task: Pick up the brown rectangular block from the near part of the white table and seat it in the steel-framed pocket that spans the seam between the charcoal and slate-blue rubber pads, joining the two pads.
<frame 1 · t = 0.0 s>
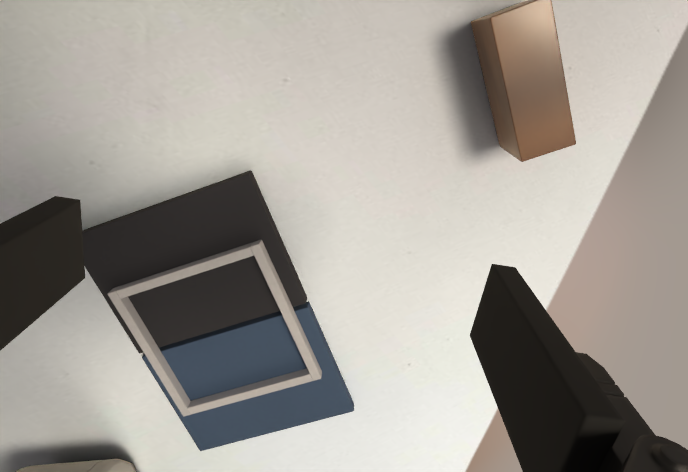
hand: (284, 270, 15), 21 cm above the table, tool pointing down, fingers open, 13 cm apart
brown rectangular block: (510, 78, 33), on the table
back pads: (224, 324, 41), on the table
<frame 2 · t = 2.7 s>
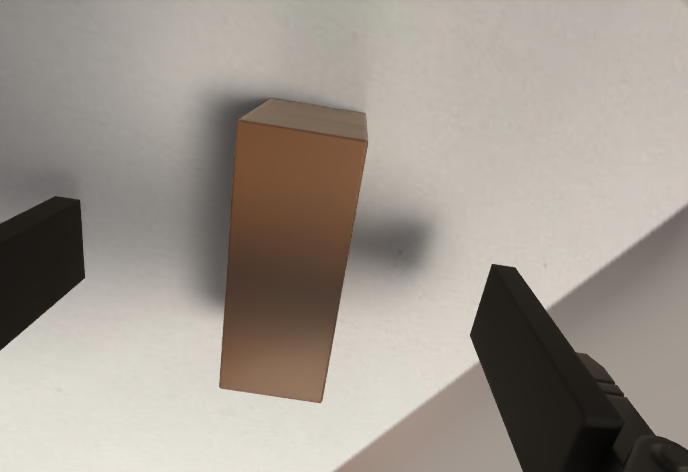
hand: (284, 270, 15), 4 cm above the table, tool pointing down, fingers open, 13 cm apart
brown rectangular block: (303, 220, 19), on the table
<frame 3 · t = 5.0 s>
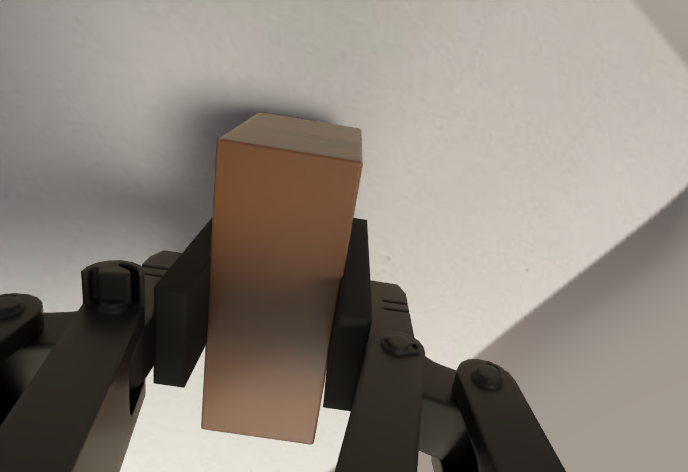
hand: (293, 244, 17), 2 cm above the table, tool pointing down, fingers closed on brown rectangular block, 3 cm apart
brown rectangular block: (294, 242, 17), point 2 cm above the table, touching gripper
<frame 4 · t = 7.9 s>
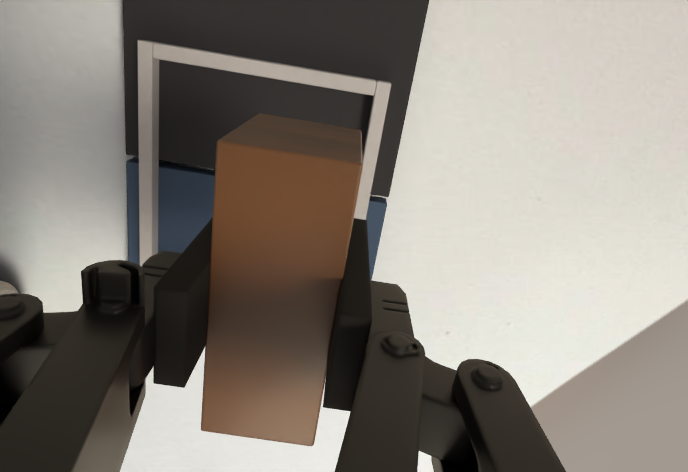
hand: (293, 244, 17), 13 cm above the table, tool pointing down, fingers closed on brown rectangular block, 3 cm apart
brown rectangular block: (294, 243, 17), point 12 cm above the table, touching gripper
back pads: (261, 175, 29), on the table
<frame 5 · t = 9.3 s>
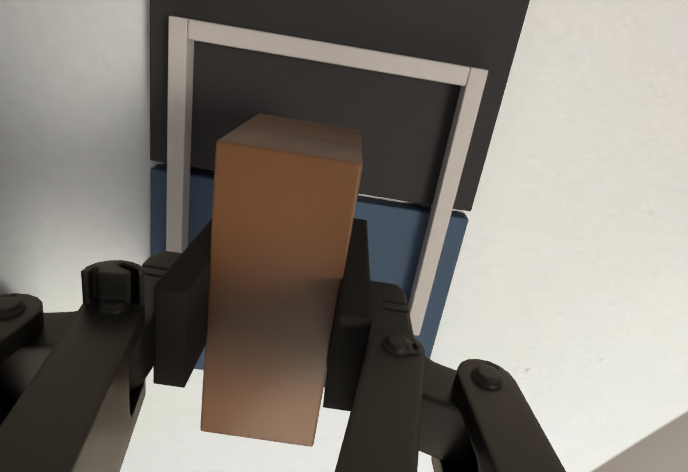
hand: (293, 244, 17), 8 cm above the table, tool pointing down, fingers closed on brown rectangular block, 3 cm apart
brown rectangular block: (294, 243, 17), point 7 cm above the table, touching gripper
back pads: (313, 184, 24), on the table
when the fingers open (1 cm above the table, at t = 10.8 s): brown rectangular block stays where it is, resting on back pads.
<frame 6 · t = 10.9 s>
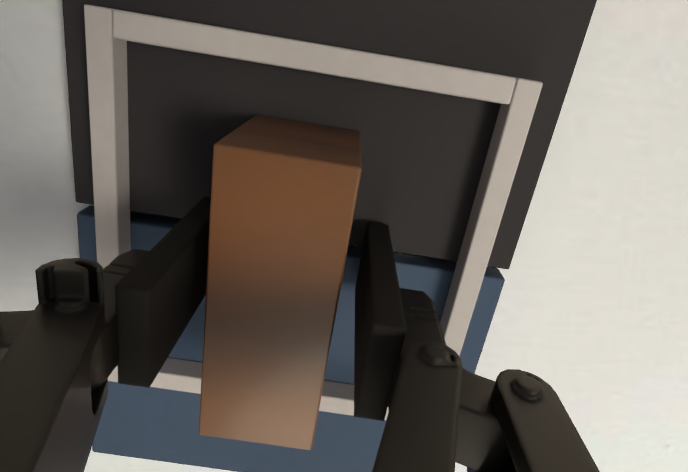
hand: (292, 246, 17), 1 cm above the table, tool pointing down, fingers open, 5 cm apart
brown rectangular block: (293, 245, 17), point 1 cm above the table, touching back pads
back pads: (298, 231, 18), on the table
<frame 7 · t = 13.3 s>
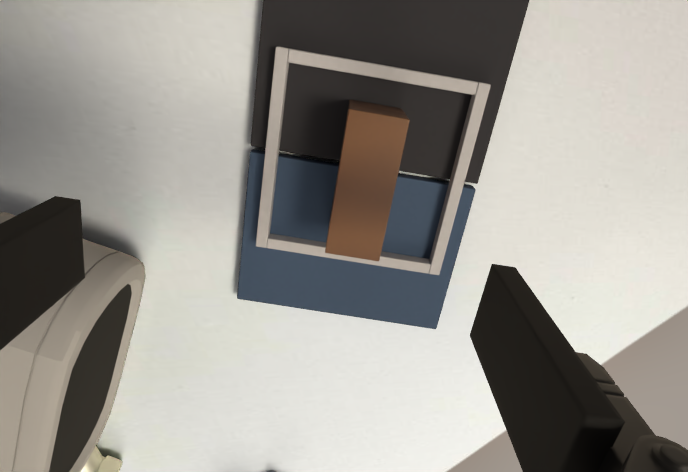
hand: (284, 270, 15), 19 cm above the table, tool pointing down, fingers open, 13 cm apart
brown rectangular block: (363, 169, 32), point 1 cm above the table, touching back pads
back pads: (364, 164, 33), on the table
pipe fitting: (87, 436, 44), on the table
alarm clock: (80, 318, 39), on the table
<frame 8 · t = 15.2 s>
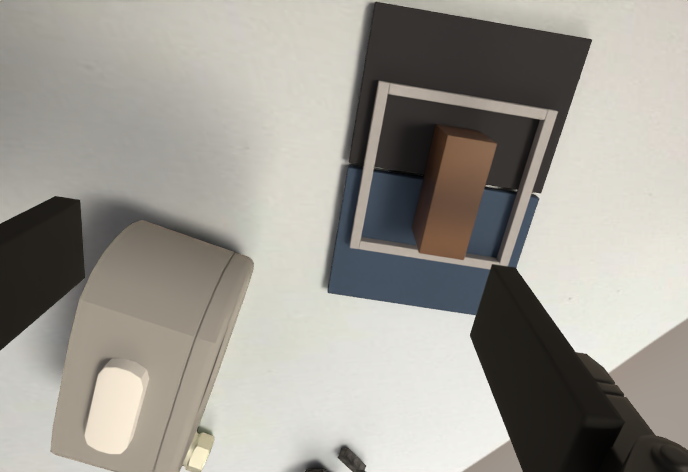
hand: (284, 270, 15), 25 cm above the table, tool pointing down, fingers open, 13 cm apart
building blocks: (335, 464, 52), on the table
brown rectangular block: (444, 182, 38), point 1 cm above the table, touching back pads
back pads: (443, 177, 39), on the table
pipe fitting: (183, 415, 50), on the table
alarm clock: (187, 311, 45), on the table
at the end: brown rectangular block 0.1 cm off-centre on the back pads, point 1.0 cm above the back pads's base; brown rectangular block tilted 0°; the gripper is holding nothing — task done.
